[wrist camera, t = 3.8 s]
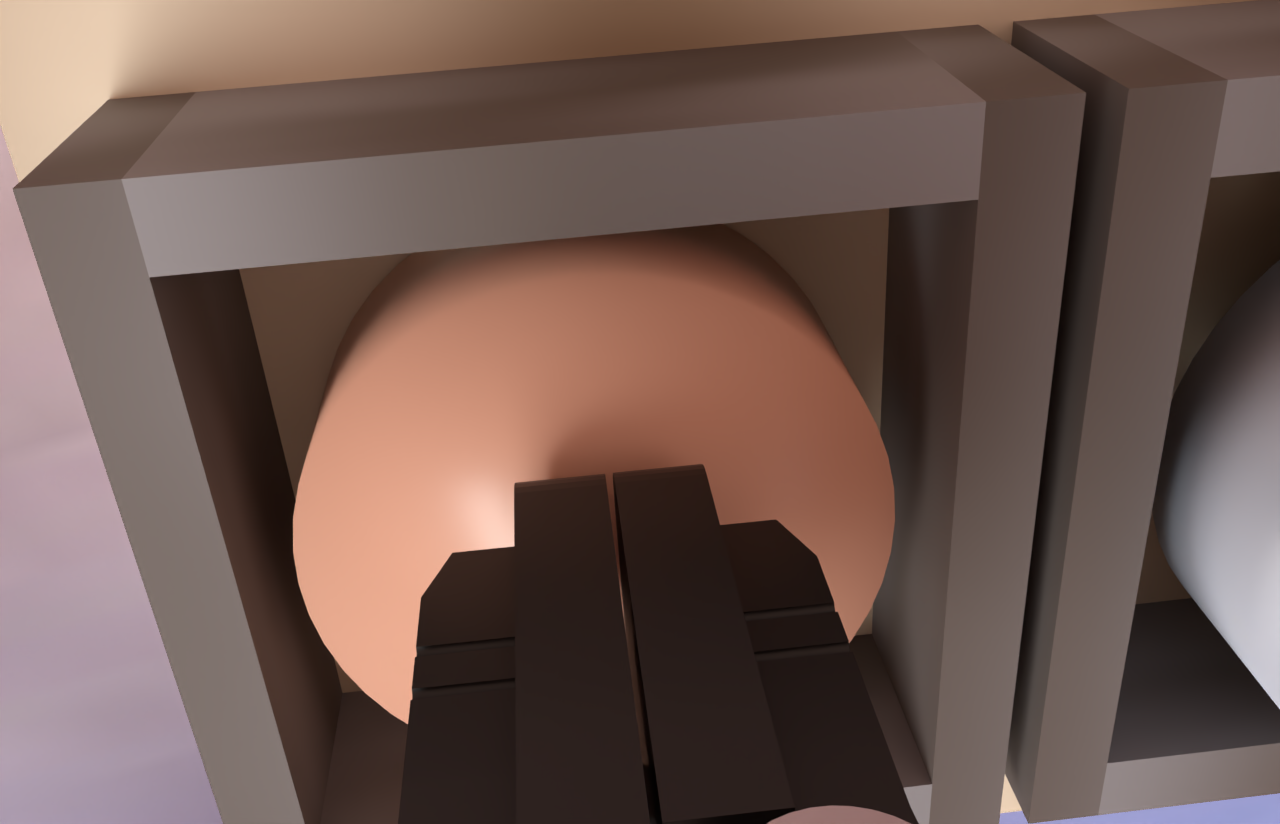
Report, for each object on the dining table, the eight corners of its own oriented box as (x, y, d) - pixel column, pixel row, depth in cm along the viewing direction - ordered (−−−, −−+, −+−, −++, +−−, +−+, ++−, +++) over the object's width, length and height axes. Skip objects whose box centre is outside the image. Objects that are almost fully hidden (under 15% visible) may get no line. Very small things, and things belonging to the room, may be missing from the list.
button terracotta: (849, 166, 11) (909, 243, 9) (838, 616, 13) (884, 737, 12) (270, 220, 10) (228, 308, 9) (371, 669, 13) (352, 799, 11)
